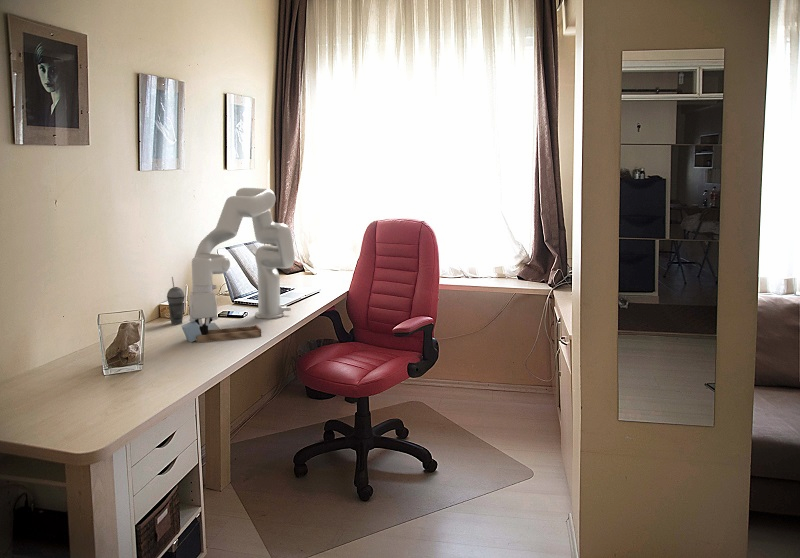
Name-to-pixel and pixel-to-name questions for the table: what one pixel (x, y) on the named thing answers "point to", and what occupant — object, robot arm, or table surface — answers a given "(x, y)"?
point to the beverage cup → (175, 304)
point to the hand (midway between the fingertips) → (203, 335)
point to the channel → (230, 333)
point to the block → (191, 331)
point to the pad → (212, 326)
